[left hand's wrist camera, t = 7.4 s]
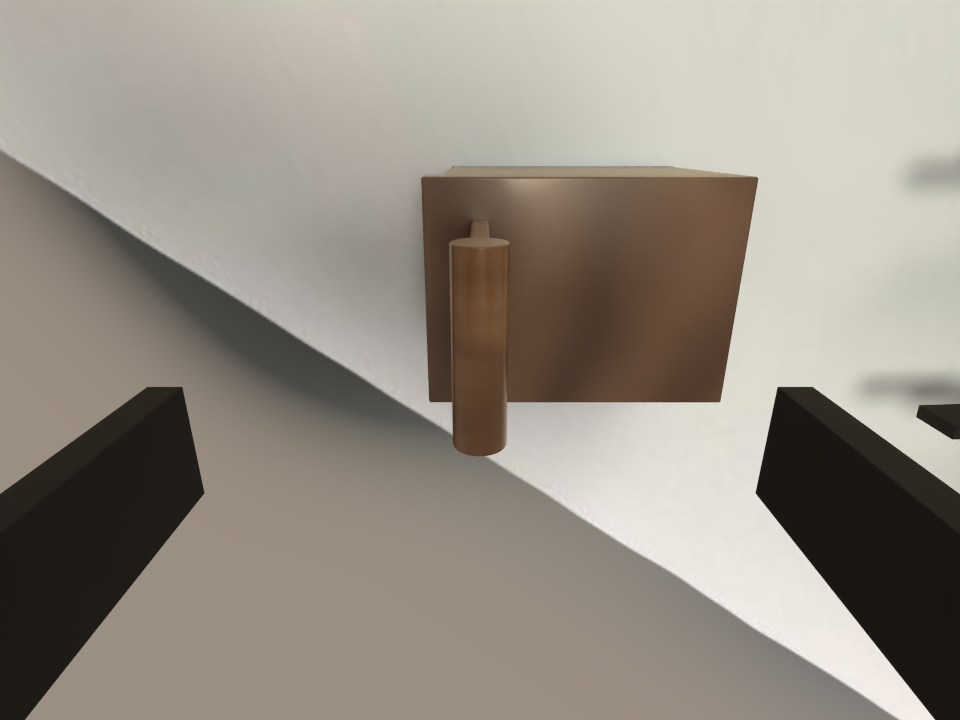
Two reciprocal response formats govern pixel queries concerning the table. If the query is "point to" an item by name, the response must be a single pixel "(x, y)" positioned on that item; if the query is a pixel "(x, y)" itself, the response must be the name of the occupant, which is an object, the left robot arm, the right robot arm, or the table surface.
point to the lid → (578, 291)
